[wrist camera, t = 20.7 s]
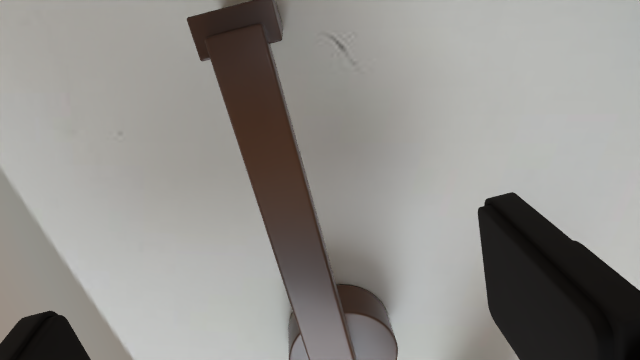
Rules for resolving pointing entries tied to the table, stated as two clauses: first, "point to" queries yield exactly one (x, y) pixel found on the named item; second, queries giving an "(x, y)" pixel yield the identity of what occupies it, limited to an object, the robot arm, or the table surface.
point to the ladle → (287, 189)
